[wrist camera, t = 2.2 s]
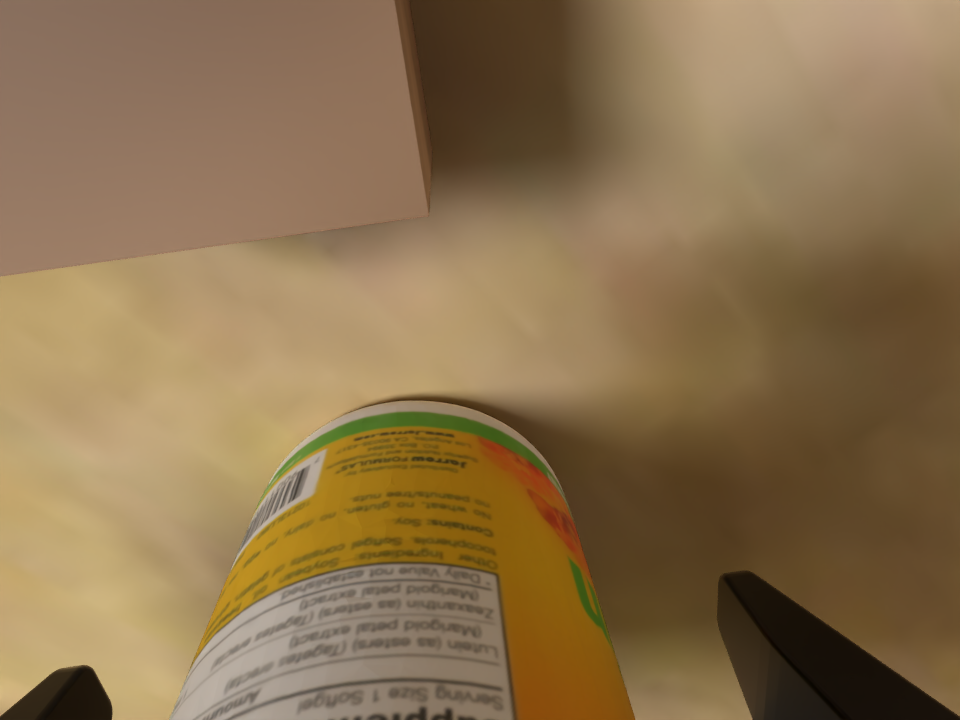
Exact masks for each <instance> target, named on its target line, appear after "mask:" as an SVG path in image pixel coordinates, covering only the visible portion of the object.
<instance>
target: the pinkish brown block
mask: <svg viewBox="0 0 960 720" xmlns="http://www.w3.org/2000/svg"><path fill="white" fill-rule="evenodd" d="M432 156H433V152H432V145H431V138H430V132H429V125H428V119H427V112H426V105H425V99H424V92H423V86H422V79H421V72H420V66H419V59H418V52H417V46H416V39H415V33H414V26H413V19H412V13H411V6H410V0H0V276H6V275H13V274H21V273H28V272H35V271H42V270H49V269H56V268H63V267H70V266H77V265H84V264H92V263H99V262H106V261H113V260H120V259H127V258H134V257H141V256H148V255H156V254H163V253H170V252H177V251H184V250H191V249H198V248H205V247H212V246H220V245H227V244H234V243H241V242H248V241H255V240H262V239H269V238H276V237H284V236H291V235H298V234H305V233H312V232H319V231H326V230H333V229H340V228H347V227H355V226H362V225H369V224H376V223H383V222H390V221H397V220H404V219H411V218H419V217H426V216H429V206H430V189H431V172H432Z"/></svg>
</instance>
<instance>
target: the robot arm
mask: <svg viewBox="0 0 960 720" xmlns="http://www.w3.org/2000/svg"><path fill="white" fill-rule="evenodd" d="M717 621H718V626H719V630H720V633H721V636H722V639H723V641H724V644H725V647H726V649H727V652H728V655H729V657H730V660H731V663H732V665H733V668H734V671H735V673H736V676H737V679H738V681H739V684H740V687H741V689H742V692H743V695H744V697H745V700H746V703H747V705H748V708H749V711H750V713H751V716H752V719H753V720H960V717H959V716H958V715H957V714H955V713H954V712H952V711H951V710H949V709H948V708H947V707H945V706H944V705H942V704H941V703H939V702H938V701H937V700H935V699H934V698H932V697H931V696H929V695H928V694H926V693H925V692H924V691H922V690H921V689H919V688H918V687H916V686H915V685H914V684H912V683H911V682H909V681H908V680H906V679H905V678H904V677H902V676H901V675H899V674H898V673H896V672H895V671H893V670H892V669H891V668H889V667H888V666H886V665H885V664H883V663H882V662H881V661H879V660H878V659H876V658H875V657H873V656H872V655H870V654H869V653H868V652H866V651H865V650H863V649H862V648H860V647H859V646H858V645H856V644H855V643H853V642H852V641H850V640H849V639H848V638H846V637H845V636H843V635H842V634H840V633H839V632H837V631H836V630H835V629H833V628H832V627H830V626H829V625H827V624H826V623H825V622H823V621H822V620H820V619H819V618H817V617H816V616H815V615H813V614H812V613H810V612H809V611H807V610H806V609H804V608H803V607H802V606H800V605H799V604H797V603H796V602H794V601H793V600H792V599H790V598H789V597H787V596H786V595H784V594H783V593H781V592H780V591H779V590H777V589H776V588H774V587H773V586H771V585H770V584H769V583H767V582H766V581H764V580H763V579H761V578H760V577H759V576H757V575H756V574H754V573H752V572H750V571H738V572H731V573H724V574H722V575H721V576H720V578H719V582H718V605H717ZM0 720H112V705H111V701H110V699H109V697H108V695H107V694H106V692H105V690H104V688H103V686H102V684H101V682H100V680H99V679H98V677H97V675H96V673H95V671H94V670H93V668H91V667H89V666H88V665H81V666H74V667H67V668H61V669H58V670H56V671H54V672H53V673H52V674H50V675H49V676H48V677H47V678H46V679H44V680H43V681H42V682H41V683H40V684H38V685H37V686H36V687H35V688H34V689H32V690H31V691H30V692H29V693H28V694H26V695H25V696H24V697H23V698H22V699H20V700H19V701H18V702H17V703H16V704H14V705H13V706H12V707H11V708H10V709H9V710H7V711H6V712H5V713H4V714H3V715H1V716H0Z"/></svg>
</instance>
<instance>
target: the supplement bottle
mask: <svg viewBox="0 0 960 720" xmlns="http://www.w3.org/2000/svg"><path fill="white" fill-rule="evenodd" d="M169 720H635V717H634V713H633V710H632V707H631V704H630V701H629V697H628V694H627V691H626V688H625V684H624V681H623V678H622V675H621V671H620V668H619V665H618V662H617V658H616V655H615V652H614V649H613V645H612V642H611V639H610V636H609V632H608V629H607V626H606V623H605V620H604V616H603V613H602V610H601V607H600V604H599V601H598V598H597V594H596V591H595V588H594V585H593V582H592V578H591V575H590V572H589V569H588V565H587V562H586V559H585V556H584V553H583V550H582V546H581V543H580V540H579V537H578V534H577V531H576V527H575V524H574V520H573V517H572V514H571V511H570V508H569V505H568V503H567V500H566V498H565V495H564V492H563V490H562V488H561V485H560V483H559V481H558V479H557V477H556V475H555V474H554V472H553V470H552V468H551V467H550V465H549V464H548V463H547V461H546V460H545V459H544V457H543V456H542V455H541V454H540V452H539V451H538V450H537V449H536V448H535V447H534V446H533V445H532V444H531V443H530V442H529V441H527V440H526V439H525V438H524V437H523V436H522V435H520V434H519V433H518V432H517V431H515V430H514V429H512V428H511V427H509V426H508V425H506V424H504V423H503V422H501V421H499V420H497V419H495V418H493V417H491V416H488V415H486V414H484V413H482V412H479V411H476V410H473V409H470V408H467V407H463V406H459V405H454V404H448V403H443V402H434V401H396V402H389V403H383V404H377V405H373V406H369V407H365V408H361V409H358V410H355V411H352V412H350V413H348V414H345V415H343V416H341V417H339V418H337V419H335V420H333V421H331V422H329V423H328V424H326V425H324V426H323V427H321V428H319V429H318V430H316V431H315V432H313V433H312V434H311V435H309V436H308V437H307V438H306V439H304V440H303V441H302V442H301V443H300V444H299V445H297V446H296V447H295V448H294V449H293V450H292V451H291V453H290V454H289V455H288V456H287V457H286V458H285V459H284V460H283V462H282V463H281V464H280V466H279V467H278V469H277V470H276V472H275V473H274V475H273V477H272V479H271V480H270V482H269V484H268V486H267V488H266V490H265V492H264V494H263V496H262V497H261V499H260V501H259V504H258V506H257V508H256V511H255V513H254V515H253V518H252V520H251V522H250V525H249V527H248V530H247V532H246V535H245V537H244V539H243V541H242V544H241V546H240V548H239V551H238V553H237V556H236V558H235V561H234V563H233V565H232V568H231V570H230V573H229V576H228V578H227V580H226V582H225V585H224V587H223V590H222V592H221V594H220V597H219V599H218V602H217V604H216V607H215V609H214V612H213V614H212V616H211V619H210V621H209V624H208V626H207V629H206V631H205V633H204V636H203V638H202V641H201V643H200V646H199V648H198V650H197V653H196V655H195V657H194V660H193V662H192V665H191V667H190V670H189V672H188V675H187V677H186V680H185V682H184V685H183V687H182V690H181V692H180V695H179V697H178V700H177V702H176V705H175V707H174V709H173V712H172V714H171V716H170V719H169Z"/></svg>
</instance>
